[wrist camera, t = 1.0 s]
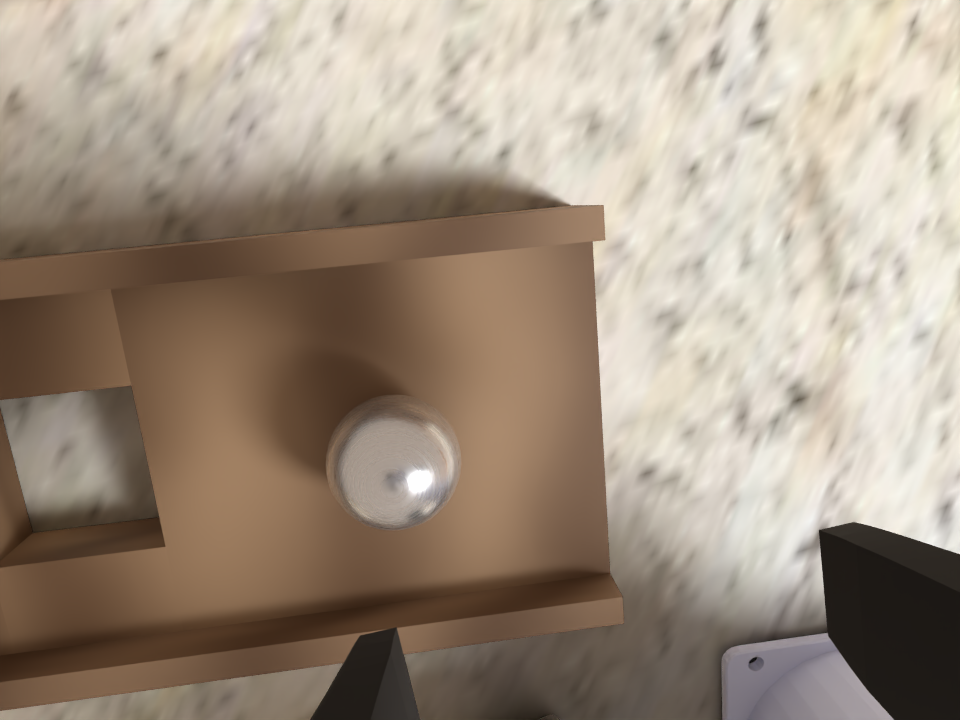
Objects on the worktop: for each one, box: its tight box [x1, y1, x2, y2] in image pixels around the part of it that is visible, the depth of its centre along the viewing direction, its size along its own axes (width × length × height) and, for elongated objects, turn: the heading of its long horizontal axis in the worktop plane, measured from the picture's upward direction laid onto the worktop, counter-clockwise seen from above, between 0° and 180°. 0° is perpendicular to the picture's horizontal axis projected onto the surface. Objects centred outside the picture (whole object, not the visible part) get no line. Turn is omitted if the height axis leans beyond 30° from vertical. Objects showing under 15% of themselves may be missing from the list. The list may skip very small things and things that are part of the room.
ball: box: [326, 395, 461, 530], centre depth 16 cm, size 3×3×3 cm
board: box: [0, 205, 624, 711], centre depth 18 cm, size 18×11×3 cm, turn 95°
